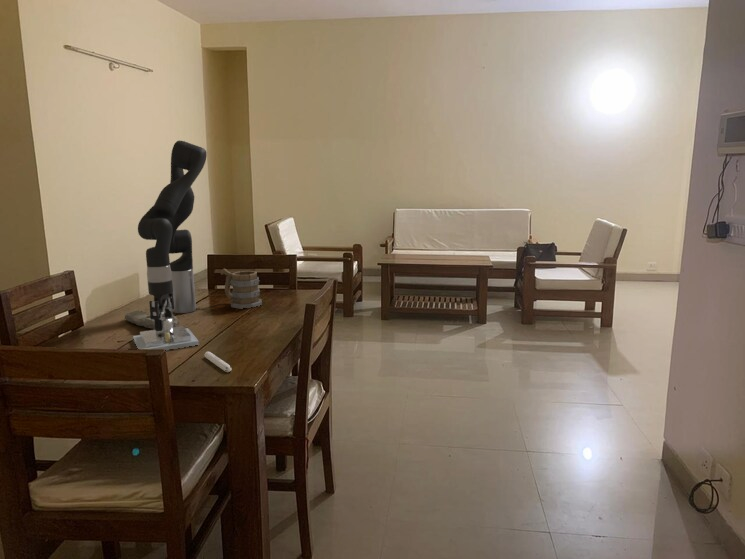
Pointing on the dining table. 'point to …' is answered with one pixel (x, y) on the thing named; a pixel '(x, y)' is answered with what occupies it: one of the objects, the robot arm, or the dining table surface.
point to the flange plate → (157, 341)
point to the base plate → (169, 345)
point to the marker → (218, 362)
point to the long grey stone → (145, 319)
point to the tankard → (242, 288)
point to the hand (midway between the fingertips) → (164, 327)
